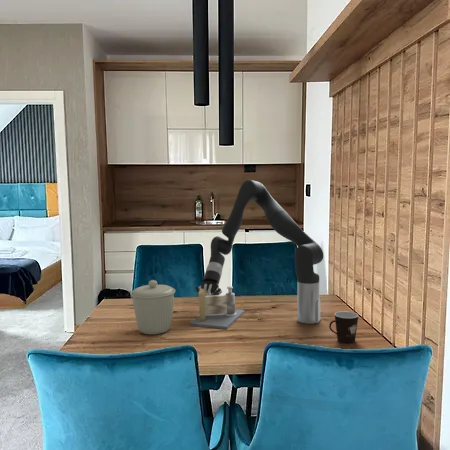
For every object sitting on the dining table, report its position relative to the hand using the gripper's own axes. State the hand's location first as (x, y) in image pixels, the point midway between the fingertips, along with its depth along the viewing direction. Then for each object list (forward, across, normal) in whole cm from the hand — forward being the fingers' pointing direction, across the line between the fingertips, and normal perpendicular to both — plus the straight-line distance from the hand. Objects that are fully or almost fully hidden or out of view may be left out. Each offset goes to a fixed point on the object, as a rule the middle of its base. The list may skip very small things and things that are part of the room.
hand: (203, 306), depth 200 cm
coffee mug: (+12, +61, -5) cm, 63 cm away
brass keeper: (+6, +1, +1) cm, 6 cm away
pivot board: (+3, +7, +3) cm, 8 cm away
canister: (+19, -13, -12) cm, 26 cm away
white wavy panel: (+1, +6, +3) cm, 7 cm away
